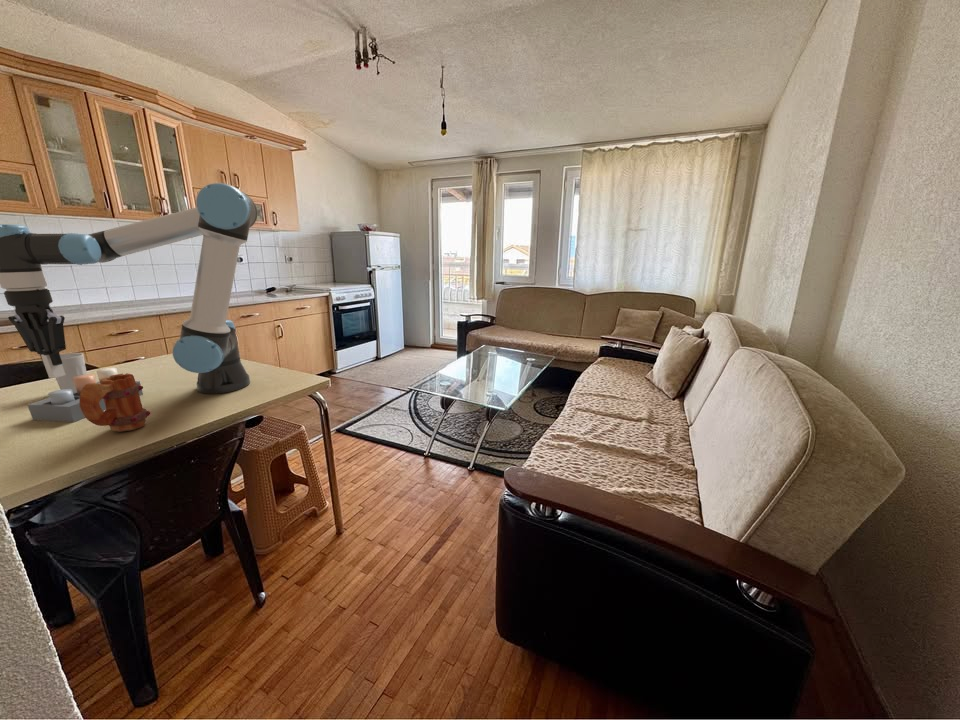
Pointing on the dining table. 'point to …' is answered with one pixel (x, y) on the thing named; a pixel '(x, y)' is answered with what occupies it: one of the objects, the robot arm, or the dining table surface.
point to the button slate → (61, 396)
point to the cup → (71, 369)
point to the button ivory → (106, 372)
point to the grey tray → (61, 409)
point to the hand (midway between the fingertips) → (57, 376)
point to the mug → (114, 403)
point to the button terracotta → (83, 381)
